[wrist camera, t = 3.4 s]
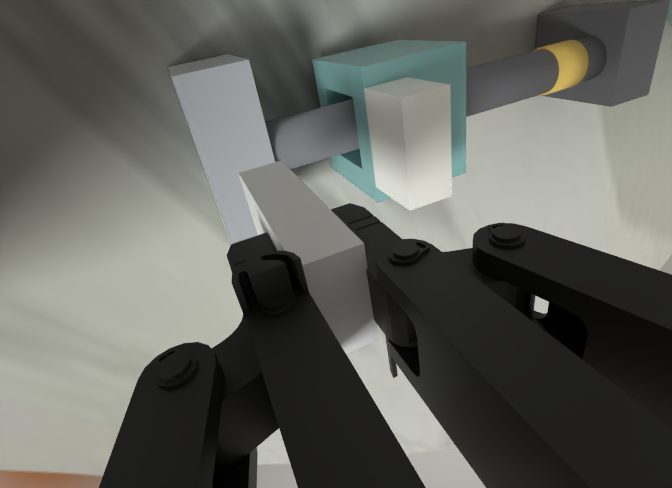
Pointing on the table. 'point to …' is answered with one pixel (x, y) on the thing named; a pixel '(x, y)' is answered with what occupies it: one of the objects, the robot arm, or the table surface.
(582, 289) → the robot arm
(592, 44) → the grey rod
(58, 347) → the table surface
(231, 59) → the grey slab
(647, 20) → the block
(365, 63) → the sleeve
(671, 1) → the cup
